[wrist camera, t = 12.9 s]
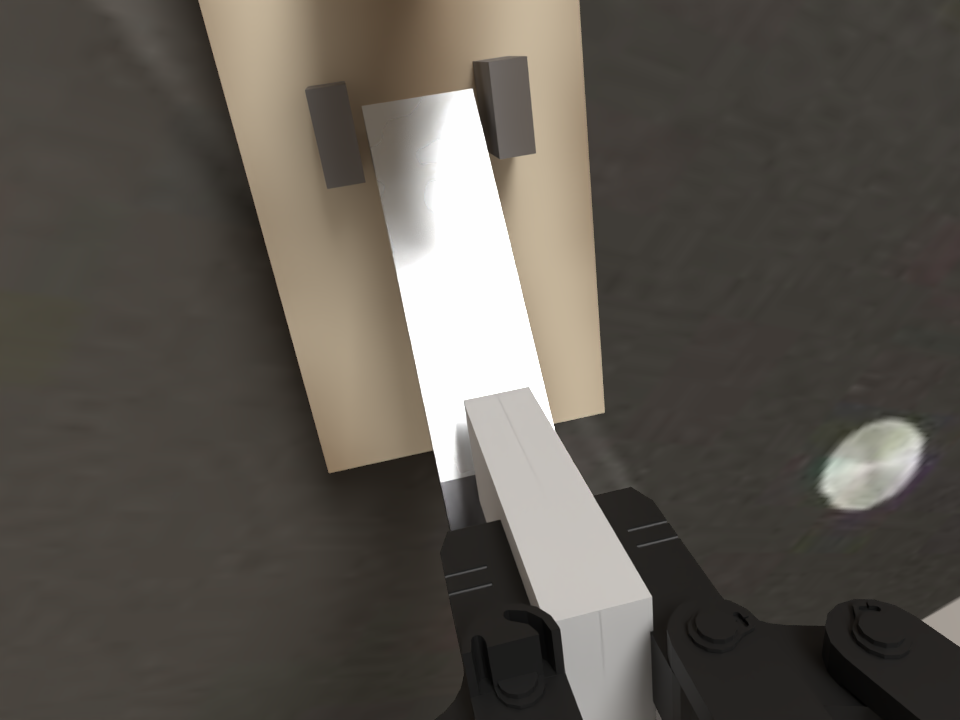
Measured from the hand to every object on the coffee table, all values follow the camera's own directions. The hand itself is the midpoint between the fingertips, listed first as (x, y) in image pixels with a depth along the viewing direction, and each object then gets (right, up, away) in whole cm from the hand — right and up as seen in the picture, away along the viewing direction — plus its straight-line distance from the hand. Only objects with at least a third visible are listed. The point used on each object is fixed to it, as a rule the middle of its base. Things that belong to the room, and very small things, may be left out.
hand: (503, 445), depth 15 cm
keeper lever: (-1, +3, +3) cm, 4 cm away
